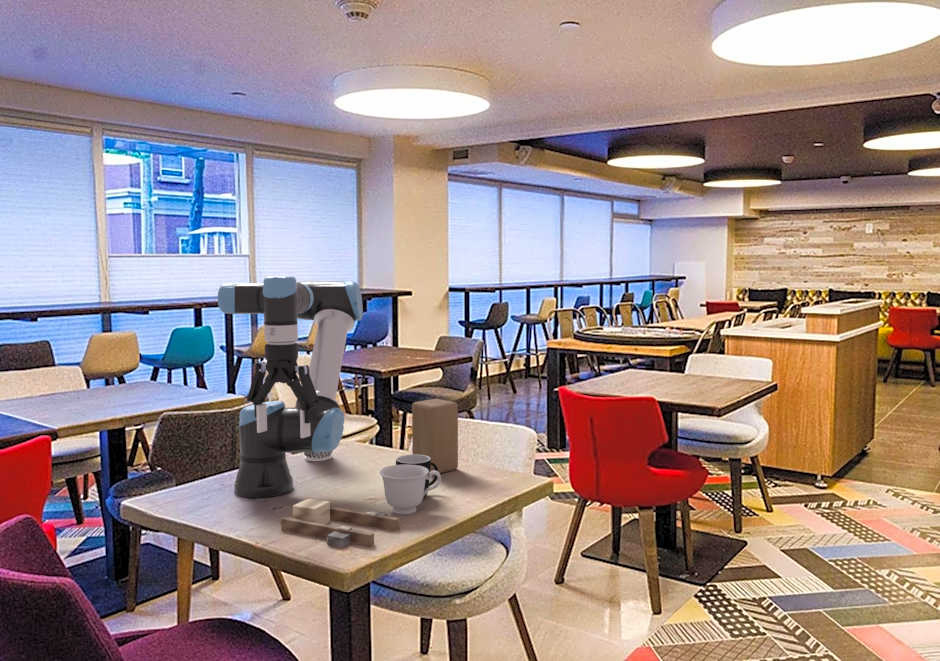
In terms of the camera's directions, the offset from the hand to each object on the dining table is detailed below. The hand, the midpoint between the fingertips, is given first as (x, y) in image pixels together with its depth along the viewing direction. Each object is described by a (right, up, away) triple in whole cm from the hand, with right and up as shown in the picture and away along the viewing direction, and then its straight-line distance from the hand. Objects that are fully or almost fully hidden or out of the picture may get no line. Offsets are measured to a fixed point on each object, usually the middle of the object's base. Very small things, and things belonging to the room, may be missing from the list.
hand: (283, 434), depth 178 cm
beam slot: (+14, -21, -5) cm, 26 cm away
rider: (+7, -21, -2) cm, 22 cm away
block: (+34, -17, +44) cm, 58 cm away
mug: (+30, -19, +19) cm, 41 cm away
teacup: (+29, -20, +8) cm, 36 cm away
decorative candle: (-3, -15, +57) cm, 60 cm away
